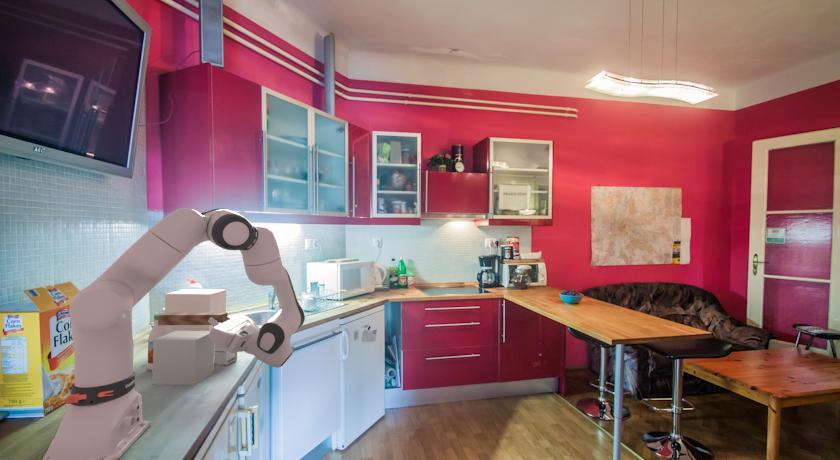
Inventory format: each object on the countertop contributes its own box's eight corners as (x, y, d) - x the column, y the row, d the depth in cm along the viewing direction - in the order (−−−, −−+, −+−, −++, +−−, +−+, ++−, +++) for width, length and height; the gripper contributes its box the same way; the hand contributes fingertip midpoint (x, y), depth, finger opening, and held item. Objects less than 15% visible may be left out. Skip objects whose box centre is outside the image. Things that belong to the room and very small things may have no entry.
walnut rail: (227, 322, 124) (227, 312, 124) (222, 324, 121) (222, 314, 121) (165, 322, 124) (165, 312, 124) (158, 325, 120) (158, 315, 120)
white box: (225, 348, 153) (226, 289, 153) (208, 358, 141) (210, 294, 141) (183, 348, 152) (184, 288, 153) (163, 358, 140) (165, 293, 141)
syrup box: (226, 365, 134) (227, 327, 134) (213, 364, 135) (214, 326, 135) (237, 360, 140) (237, 323, 140) (224, 358, 141) (225, 323, 141)
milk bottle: (143, 368, 130) (144, 314, 130) (166, 361, 137) (167, 310, 137) (154, 372, 126) (155, 317, 126) (177, 365, 133) (178, 313, 133)
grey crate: (213, 371, 128) (214, 331, 128) (194, 385, 117) (195, 340, 117) (174, 371, 127) (175, 330, 127) (152, 384, 116) (153, 339, 116)
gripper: (265, 321, 133) (233, 303, 133) (238, 338, 112) (201, 316, 112) (256, 335, 133) (225, 317, 133) (228, 355, 112) (191, 333, 112)
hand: (214, 317), depth 122 cm, fingers closed on walnut rail, 3 cm apart
